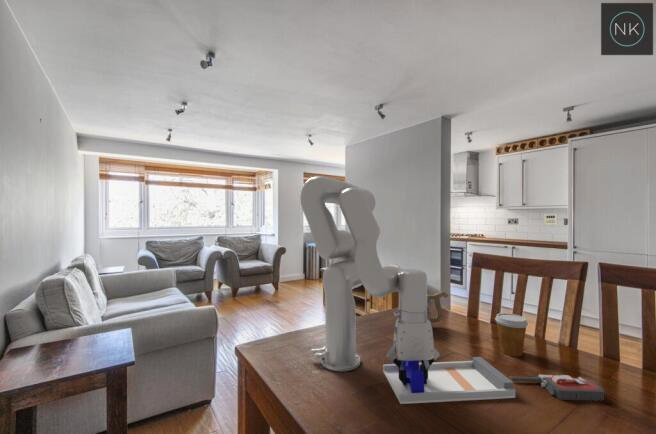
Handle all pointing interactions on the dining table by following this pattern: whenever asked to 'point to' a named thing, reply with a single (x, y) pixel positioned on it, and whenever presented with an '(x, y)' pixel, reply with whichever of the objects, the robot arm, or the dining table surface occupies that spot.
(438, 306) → the tankard
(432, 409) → the dining table surface
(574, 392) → the walkie-talkie
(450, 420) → the dining table surface
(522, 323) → the disposable coffee cup
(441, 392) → the channel
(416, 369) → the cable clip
